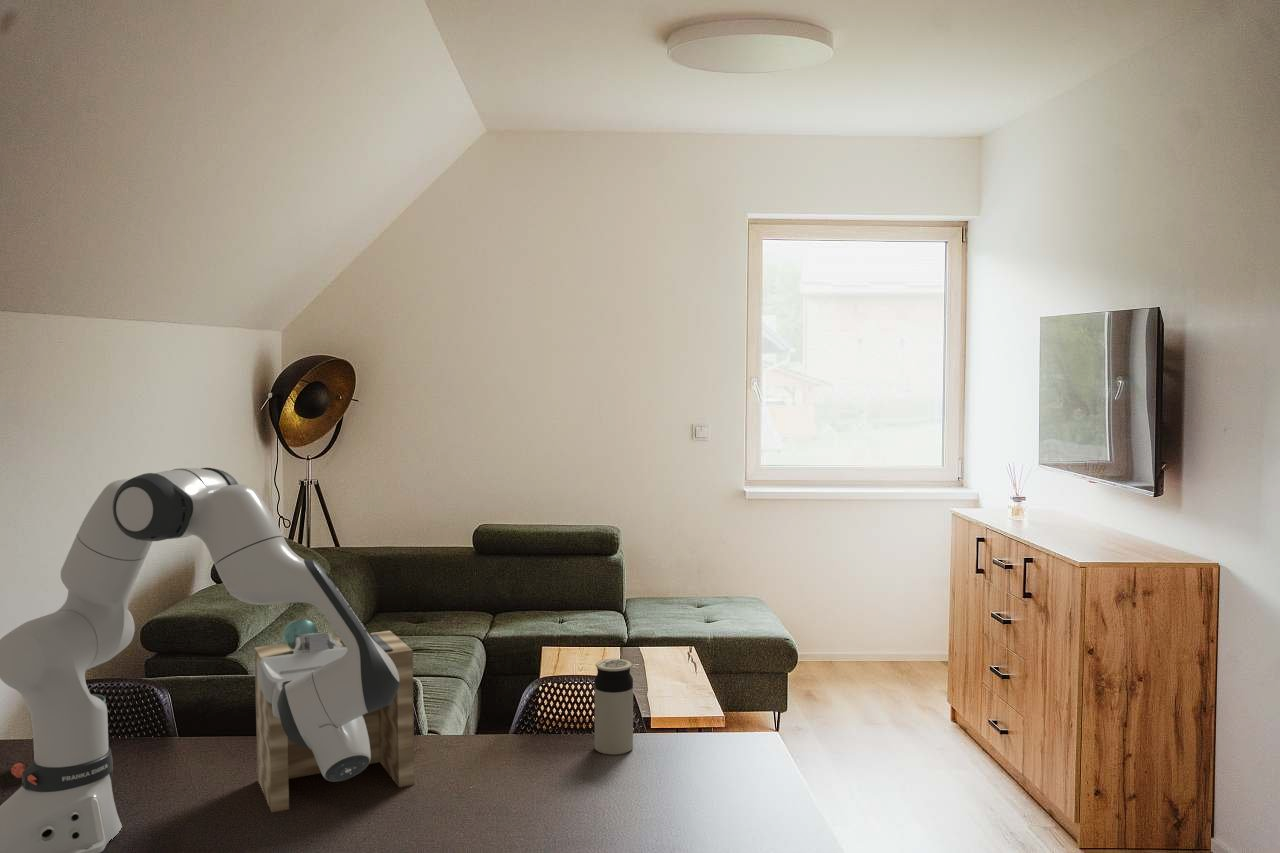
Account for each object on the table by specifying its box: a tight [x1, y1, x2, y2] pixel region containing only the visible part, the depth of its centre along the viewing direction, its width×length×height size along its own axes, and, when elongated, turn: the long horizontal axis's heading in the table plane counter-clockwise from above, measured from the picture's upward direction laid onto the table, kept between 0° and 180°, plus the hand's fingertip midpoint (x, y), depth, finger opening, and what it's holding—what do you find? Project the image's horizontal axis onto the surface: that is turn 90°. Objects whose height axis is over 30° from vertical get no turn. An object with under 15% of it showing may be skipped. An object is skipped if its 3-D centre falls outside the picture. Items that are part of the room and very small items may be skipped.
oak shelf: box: [254, 630, 415, 813], centre depth 199 cm, size 16×26×26 cm, turn 119°
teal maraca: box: [281, 619, 328, 652], centre depth 189 cm, size 20×6×6 cm, turn 28°
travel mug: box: [594, 658, 634, 756], centre depth 216 cm, size 8×8×18 cm
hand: (313, 638), depth 184 cm, fingers closed on teal maraca, 3 cm apart
